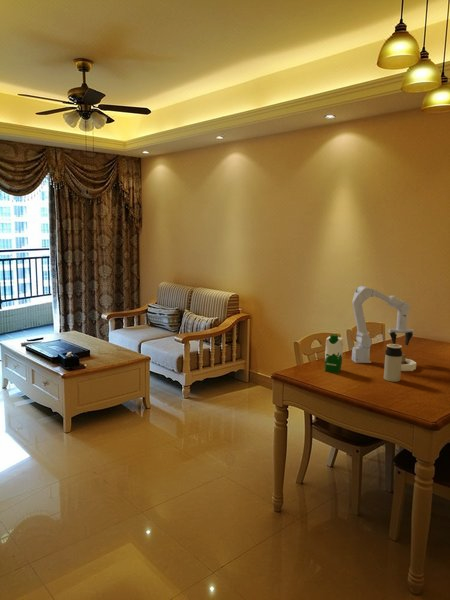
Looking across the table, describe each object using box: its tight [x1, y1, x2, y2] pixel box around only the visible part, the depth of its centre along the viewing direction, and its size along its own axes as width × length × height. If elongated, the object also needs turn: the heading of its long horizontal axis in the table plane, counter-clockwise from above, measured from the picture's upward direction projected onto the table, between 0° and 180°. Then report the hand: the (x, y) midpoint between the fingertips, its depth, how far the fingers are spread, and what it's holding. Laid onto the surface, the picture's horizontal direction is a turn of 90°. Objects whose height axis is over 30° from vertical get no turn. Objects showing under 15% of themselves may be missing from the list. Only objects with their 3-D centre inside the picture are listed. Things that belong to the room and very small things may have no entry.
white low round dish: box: [401, 358, 417, 372], centre depth 262 cm, size 14×14×4 cm
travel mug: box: [383, 343, 403, 383], centre depth 238 cm, size 8×8×18 cm
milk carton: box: [324, 334, 344, 374], centre depth 252 cm, size 9×9×20 cm
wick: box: [401, 352, 407, 364], centre depth 261 cm, size 4×2×7 cm, turn 4°
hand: (400, 344), depth 272 cm, fingers open, 7 cm apart
